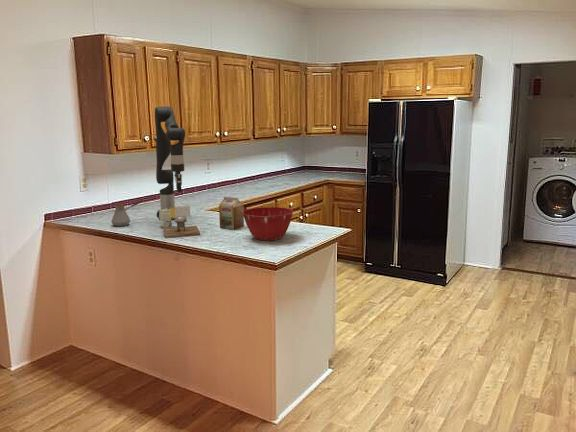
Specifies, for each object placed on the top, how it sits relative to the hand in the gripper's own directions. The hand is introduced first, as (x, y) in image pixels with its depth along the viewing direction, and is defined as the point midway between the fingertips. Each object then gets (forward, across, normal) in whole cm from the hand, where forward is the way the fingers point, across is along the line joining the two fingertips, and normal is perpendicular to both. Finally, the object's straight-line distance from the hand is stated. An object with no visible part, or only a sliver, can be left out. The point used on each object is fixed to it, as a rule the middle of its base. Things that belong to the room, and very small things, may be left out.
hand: (179, 190), depth 294 cm
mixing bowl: (+26, +28, +46) cm, 60 cm away
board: (+25, 0, 0) cm, 25 cm away
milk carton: (+25, -4, +31) cm, 40 cm away
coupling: (+18, 0, 0) cm, 18 cm away
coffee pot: (+25, -35, -30) cm, 53 cm away
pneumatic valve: (+25, -19, -7) cm, 32 cm away
